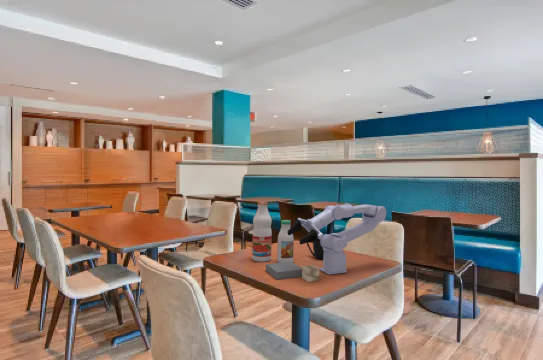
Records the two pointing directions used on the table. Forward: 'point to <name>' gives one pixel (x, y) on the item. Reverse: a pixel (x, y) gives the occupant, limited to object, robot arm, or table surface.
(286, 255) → the milk bottle
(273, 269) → the grey base
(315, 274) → the maple cube
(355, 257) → the table surface
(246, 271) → the table surface
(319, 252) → the mug
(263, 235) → the fruit juice
